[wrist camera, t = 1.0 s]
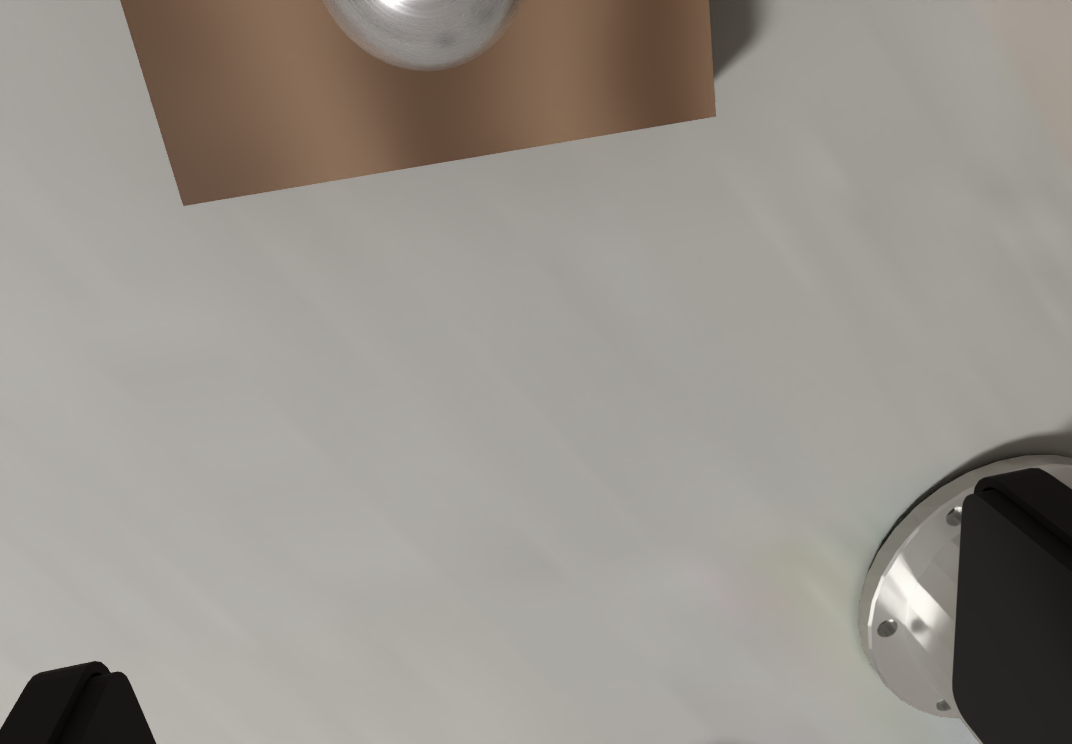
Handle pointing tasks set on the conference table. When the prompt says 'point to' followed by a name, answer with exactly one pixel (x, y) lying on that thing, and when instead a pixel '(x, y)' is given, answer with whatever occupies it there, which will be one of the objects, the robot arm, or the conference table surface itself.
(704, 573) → the conference table surface
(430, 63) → the ball
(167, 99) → the deck
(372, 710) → the conference table surface
